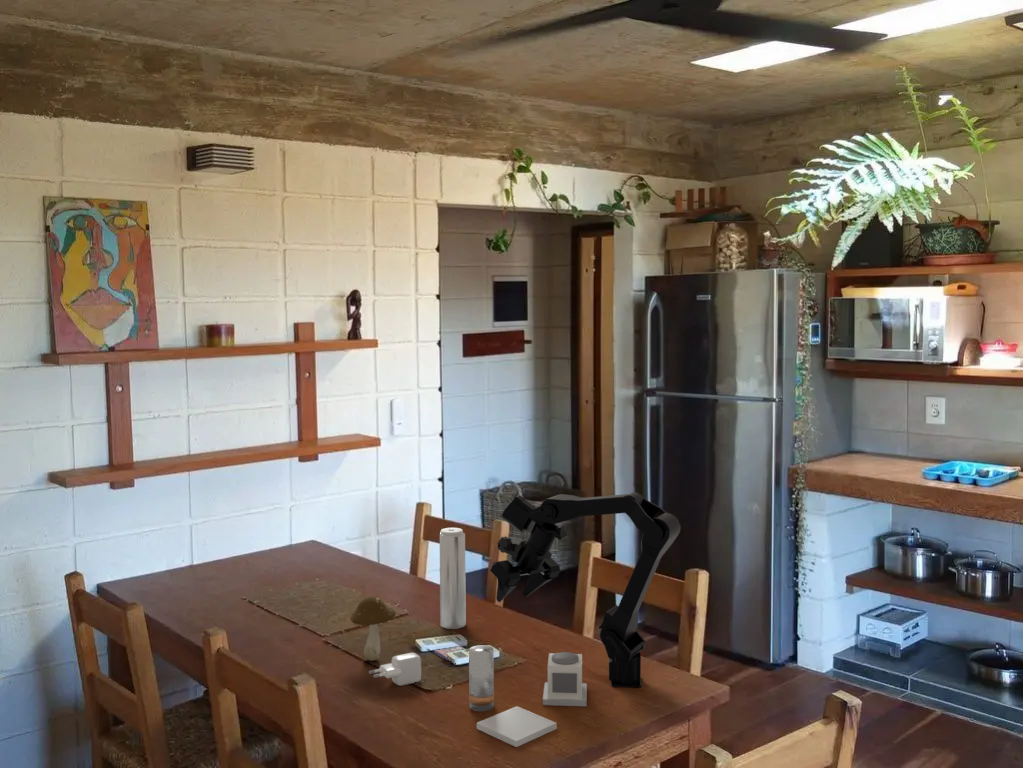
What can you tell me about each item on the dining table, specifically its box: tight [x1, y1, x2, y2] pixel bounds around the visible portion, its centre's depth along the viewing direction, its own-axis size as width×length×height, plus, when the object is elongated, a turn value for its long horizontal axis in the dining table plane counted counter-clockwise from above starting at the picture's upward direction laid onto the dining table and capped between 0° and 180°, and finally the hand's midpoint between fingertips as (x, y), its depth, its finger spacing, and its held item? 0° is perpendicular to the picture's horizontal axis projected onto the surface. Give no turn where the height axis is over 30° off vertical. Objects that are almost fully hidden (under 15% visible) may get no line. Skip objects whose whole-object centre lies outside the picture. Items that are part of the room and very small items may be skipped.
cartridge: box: [468, 644, 495, 712], centre depth 199 cm, size 5×5×12 cm
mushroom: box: [349, 595, 397, 662], centre depth 225 cm, size 9×11×15 cm
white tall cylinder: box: [439, 527, 467, 630], centre depth 248 cm, size 6×6×25 cm
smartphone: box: [433, 645, 467, 664], centre depth 229 cm, size 1×7×15 cm
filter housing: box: [542, 651, 588, 707], centre depth 204 cm, size 9×9×9 cm
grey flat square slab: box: [476, 705, 558, 748], centre depth 189 cm, size 11×11×1 cm
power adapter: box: [368, 652, 422, 686], centre depth 211 cm, size 11×5×6 cm, turn 120°
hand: (511, 598), depth 225 cm, fingers open, 9 cm apart
